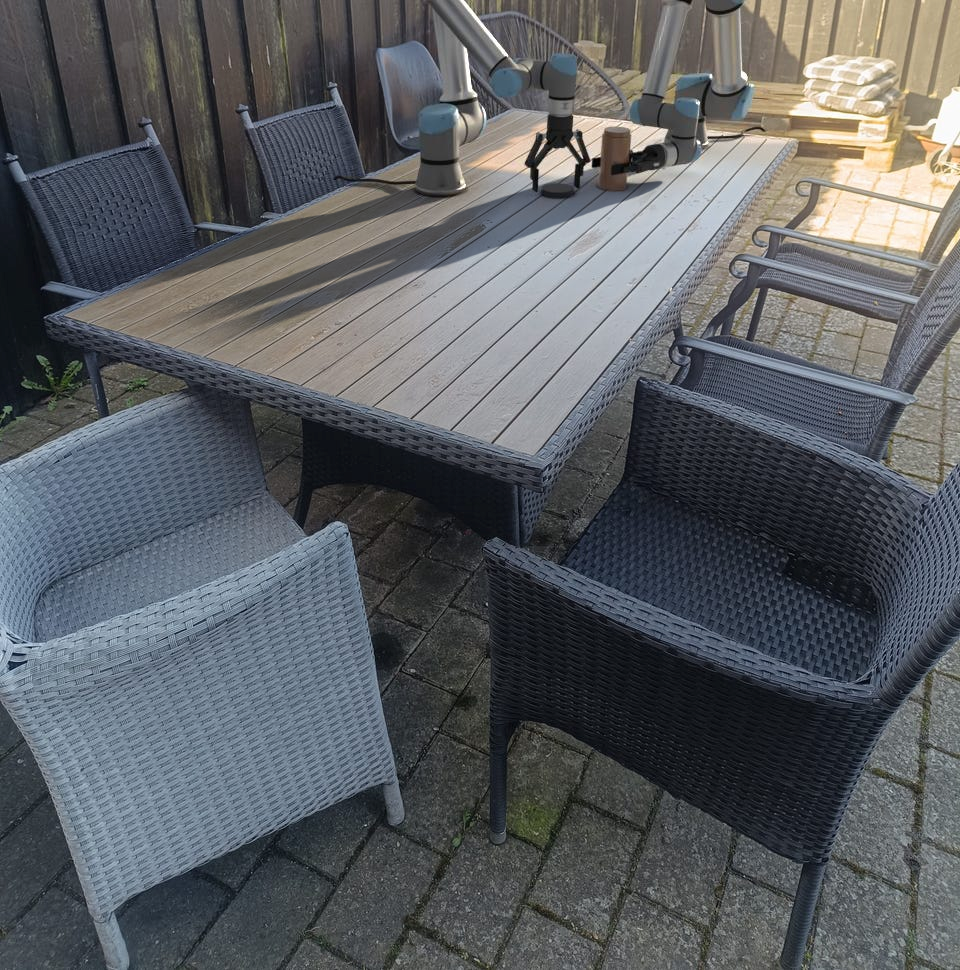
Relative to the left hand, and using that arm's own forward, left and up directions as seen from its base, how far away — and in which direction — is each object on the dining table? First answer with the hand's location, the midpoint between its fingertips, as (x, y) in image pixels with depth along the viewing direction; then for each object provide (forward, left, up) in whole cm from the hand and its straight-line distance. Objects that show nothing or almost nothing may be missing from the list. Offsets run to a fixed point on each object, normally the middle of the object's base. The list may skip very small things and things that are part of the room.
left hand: (555, 189), depth 255 cm
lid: (+1, 0, 0) cm, 1 cm away
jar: (+10, +17, -1) cm, 19 cm away
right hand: (+8, +12, +5) cm, 16 cm away
